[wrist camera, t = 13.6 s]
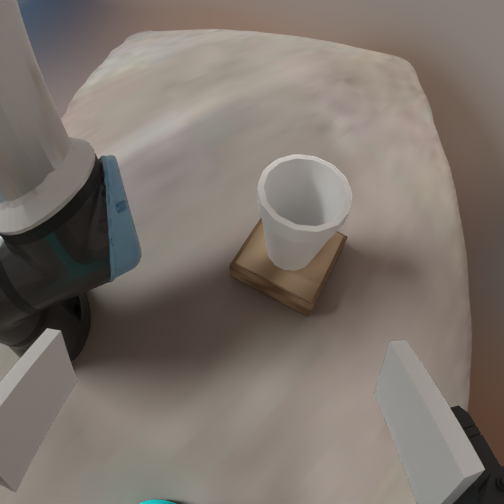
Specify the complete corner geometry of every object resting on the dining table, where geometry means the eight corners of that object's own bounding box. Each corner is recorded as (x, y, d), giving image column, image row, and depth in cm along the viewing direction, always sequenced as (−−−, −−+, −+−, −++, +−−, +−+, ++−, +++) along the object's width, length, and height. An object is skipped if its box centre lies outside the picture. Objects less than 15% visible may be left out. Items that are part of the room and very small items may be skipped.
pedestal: (230, 275, 45) (229, 263, 41) (271, 212, 50) (273, 197, 46) (307, 316, 43) (313, 308, 39) (341, 247, 47) (348, 234, 44)
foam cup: (307, 210, 45) (325, 146, 33) (337, 266, 41) (369, 214, 30) (244, 231, 43) (243, 168, 32) (270, 292, 40) (280, 244, 28)
